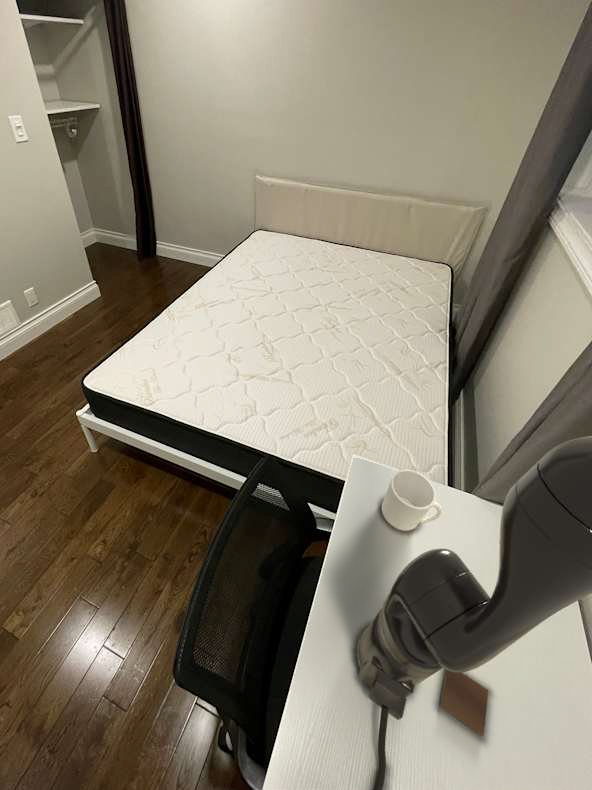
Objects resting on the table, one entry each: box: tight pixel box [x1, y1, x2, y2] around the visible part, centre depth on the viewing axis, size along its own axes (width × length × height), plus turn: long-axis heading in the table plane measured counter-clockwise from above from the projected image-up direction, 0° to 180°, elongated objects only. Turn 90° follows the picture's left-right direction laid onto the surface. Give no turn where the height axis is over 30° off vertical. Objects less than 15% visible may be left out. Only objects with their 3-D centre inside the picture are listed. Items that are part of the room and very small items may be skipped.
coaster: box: [439, 669, 489, 737], centre depth 58 cm, size 6×6×1 cm
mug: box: [380, 468, 443, 532], centre depth 78 cm, size 11×9×10 cm
